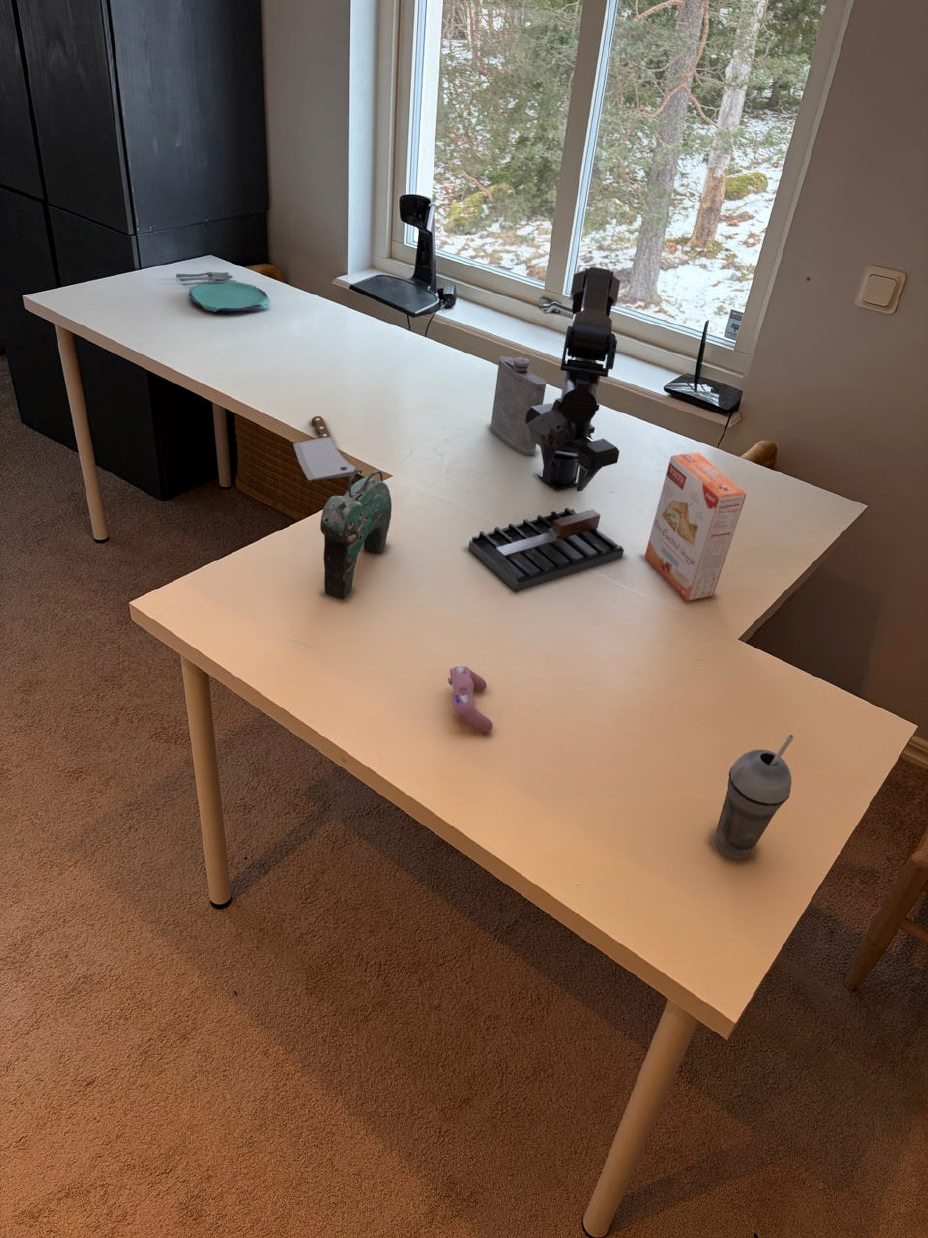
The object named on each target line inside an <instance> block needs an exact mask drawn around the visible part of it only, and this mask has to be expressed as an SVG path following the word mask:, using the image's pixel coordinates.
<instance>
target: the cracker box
mask: <svg viewBox="0 0 928 1238" xmlns="http://www.w3.org/2000/svg"><path fill="white" fill-rule="evenodd" d="M659 496H660V498H659V499H658V503H657V508H656V512H655V515H654V519H653V523H652V527H651V531H650V534H649V539H648V542H647V546H646V550H645V553H644V558H646V559H647V561H648V562H650V564H651V565H653V567H654V568H655V569H656V570H657V571H658V573H659V574H661V575H662V577H663V578H664V579H665V580H666V581H667V582H668V583H669V584H670V585H671V587H673V588H674V589H675V591H677V592H678V593H679V595H680V596H682V599H684V600H685V601H686V602H689V601H690V602H691V601H694V600H701V599H705V598H706V599H707V598H710V597H714V595H715V592H716V589H717V586H718V583H719V580H720V577H721V574H722V571H723V567H724V565H725V562H726V558H727V555H728V552H729V548H730V546H731V542H732V540H733V537H734V534H735V531H736V528H737V525H738V521H739V518H740V515H741V513H742V509H743V507H744V503H745V500H746V497H747V492H746V491H745V490H744V489H742V488H741V487H740V486H738V485H737V484H736V483H735V482H734V481H732V480H731V478H729V477H728V475H725V473H724V472H722V471H721V470H720V469H718V468H717V467H716V465H714V464H713V463H711V462H710V461H709V460H708V459H707V458H706V457H704V455H702V454H701V453H700V452H698V451H697V452H689V453H680V454H675V455H671V456H670V460H669V462H668V466H667V470H666V474H665V478H664V480H663V485H662V489H661V493H660V495H659Z"/></svg>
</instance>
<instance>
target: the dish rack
mask: <svg viewBox="0 0 928 1238" xmlns="http://www.w3.org/2000/svg"><path fill="white" fill-rule="evenodd" d="M574 514H578V513H577V512H576V510H575V509H574V508H572V509H570V508H569V507H565V508H564V509H563V511H561V512H558V513H557V512H555V511H551V512H550V515H546V516H542V515H541V514H539V515H537V516H536V518H535V519H532V520H528V519H527V518H525V519H523V520H522V523H518V524H514V523H513V522H510V523H509V524H508V526H507V527H504V528H499V526H496V527H493V528H494V529H493V531H490V532H485V531H483V530H481V531H479V533H478V535H475V536H472V538H471V540H469V541H468V547H467V548H468V549H467V550H468V552H470V553H471V554H472V555H473V556H474V557H476V559H478V560H479V561H480V562H481V563H482V564H483V565H484V566H486V568H487V569H489V571H491V572H492V573H493V574H494V575H495V576H496V577H497V578H498V579H500V580H501V581H502V582H503V583H504V584H505V585H506V586H507V587H509V588H510V589H511V590H512V591H513V592H514V593H517V592H521V591H524V590H527V589H531V588H534V587H537V586H539V585H542V584H546V583H549V582H552V581H555V580H558V579H561V578H565V577H567V576H570V575H574V574H576V573H580V572H582V571H586V570H589V569H592V568H595V567H598V566H601V565H604V564H607V563H611V562H614V561H616V560H620V559H623V556H624V552H625V549H624V548H623V546H622V545H619V544H618V543H616V542H615V541H614V540H613V539H611V538H610V537H608V535H606V534H605V533H603V532H602V531H601V530H599V528H597V529H593V530H590V531H587V532H583V533H580V534H576V535H573V536H570V537H566V538H563V539H560V540H559V541H556V542H553V543H549V544H546V545H543V546H539V547H536V548H532V549H529V550H526V551H522V552H519V553H516V554H512V555H509V556H506V557H504V556H503V555H502V554H501V553H500V552H499V551H497V550H496V548H497V547H500V546H504V545H507V544H511V543H514V542H517V541H521V540H524V539H528V538H531V537H535V536H538V535H541V534H545V533H548V529H550V528H553V523H554V520H557V519H560V518H564V517H567V516H571V515H574Z"/></svg>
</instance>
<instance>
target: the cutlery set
mask: <svg viewBox="0 0 928 1238" xmlns="http://www.w3.org/2000/svg"><path fill="white" fill-rule="evenodd" d="M203 276H208V277H203ZM175 278H177V279H179V281H180V282H189V281H202V282H195V283H183V284H182V286H183V287H184V288H185V287H186V286H193V287H191V288H190V289H188V292H189V293H188V297H189V298H190V301H191V302H193V303H194V304H195V305H197V306H200V307H202V308H203V309H204V310H206V311H210V312H214V313H217V311H222V312H243V311H250V310H253V309H254V310H255V309H256V308H259V307H261V306H262V307H263V310H266V309H267V308H268V306H269V305H270V298H269V297H268V295H267V293H266V292H265V291H264V290H262V289H260V288H258V287H257V286H256V285H253V284H249V283H243V282H240V281H237V279H235V280H234V279H233V278H234V276H233V275H231V274H230V273H229V272H228V271H225V272H215V271H206V272H202V273H176V274H175ZM231 279H233V280H231ZM206 280H207V281H206Z"/></svg>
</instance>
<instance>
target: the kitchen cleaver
mask: <svg viewBox="0 0 928 1238" xmlns="http://www.w3.org/2000/svg"><path fill="white" fill-rule="evenodd" d="M311 424H312V425H313V426H314V427H315V431H316V433H317V435H318V438H314V439H310V440H305V441H300V442H294V443H292V445H293V448H294V452H295V454H296V457H297V461H298V464H299V466H300V468H301V469H302V471H303V473H304V475H305V477H306V479H307V480H308V481H310V482H311V481H318V480H319V481H320V480H328V479H336V478H337V479H338V478H347V477H350V476H351V475H352V473H353V472H354V471H355V470H356V466H354V465H353V464H352V463H351V462H348V460H346V458H345V457H344V456H343V455H342V453H340V451H339V450H338V448H337V446H336V444H335V442H334V440H333V439H332V436H331V433H330V431H329V429H328V427H327V424H326V422H325V420H324V418H323V417H322V416H320V415H315V416H313V417H312V418H311Z"/></svg>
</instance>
